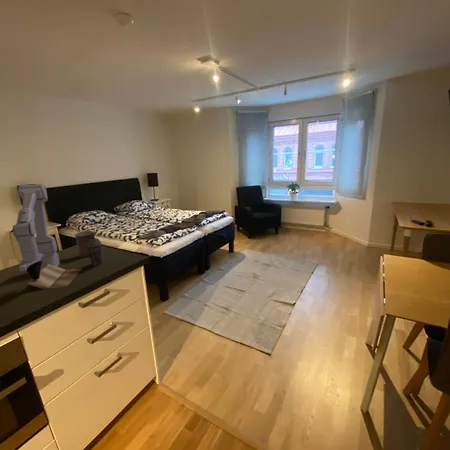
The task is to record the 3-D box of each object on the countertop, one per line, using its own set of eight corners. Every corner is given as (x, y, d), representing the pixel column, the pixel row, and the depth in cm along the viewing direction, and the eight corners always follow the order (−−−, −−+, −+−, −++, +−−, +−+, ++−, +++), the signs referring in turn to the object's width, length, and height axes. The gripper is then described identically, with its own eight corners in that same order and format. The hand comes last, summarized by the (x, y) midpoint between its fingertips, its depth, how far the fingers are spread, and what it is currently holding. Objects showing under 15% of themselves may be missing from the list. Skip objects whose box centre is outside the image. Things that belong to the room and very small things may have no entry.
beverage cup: (87, 265, 133) (81, 230, 128) (101, 261, 138) (96, 227, 133) (93, 270, 129) (86, 233, 123) (107, 265, 134) (101, 230, 128)
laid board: (67, 272, 127) (66, 269, 126) (82, 270, 128) (81, 268, 127) (50, 290, 110) (49, 287, 109) (67, 288, 111) (67, 286, 110)
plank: (47, 266, 124) (48, 264, 124) (65, 271, 126) (66, 269, 126) (26, 283, 107) (27, 281, 107) (47, 290, 109) (48, 287, 109)
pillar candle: (100, 254, 149) (96, 230, 145) (84, 259, 141) (80, 234, 137) (91, 251, 154) (87, 227, 150) (75, 256, 146) (70, 232, 142)
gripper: (28, 244, 112) (35, 272, 116) (7, 257, 99) (16, 287, 102) (45, 243, 114) (51, 270, 117) (27, 256, 100) (35, 286, 104)
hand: (36, 278), depth 110 cm, fingers closed
